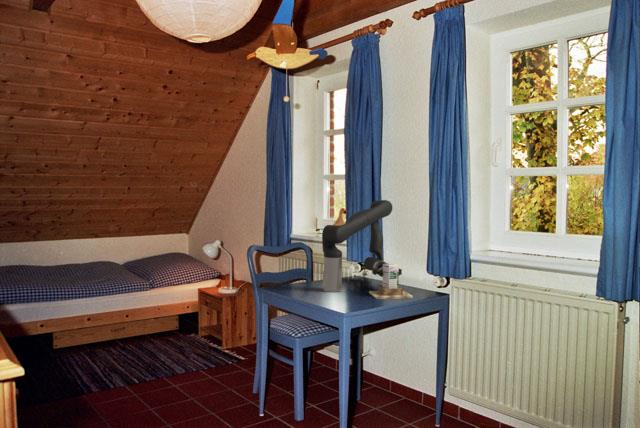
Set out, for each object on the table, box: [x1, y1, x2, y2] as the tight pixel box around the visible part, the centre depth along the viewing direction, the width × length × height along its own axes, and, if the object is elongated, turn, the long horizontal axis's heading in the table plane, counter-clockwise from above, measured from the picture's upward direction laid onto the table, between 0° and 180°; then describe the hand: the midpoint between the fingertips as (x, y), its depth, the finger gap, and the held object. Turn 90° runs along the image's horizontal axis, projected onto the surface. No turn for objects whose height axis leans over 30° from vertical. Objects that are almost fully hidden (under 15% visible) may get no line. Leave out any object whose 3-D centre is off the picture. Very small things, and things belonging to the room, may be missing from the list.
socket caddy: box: [368, 284, 414, 300], centre depth 265 cm, size 18×14×4 cm
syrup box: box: [382, 262, 400, 289], centre depth 265 cm, size 6×6×14 cm
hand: (390, 273), depth 264 cm, fingers open, 8 cm apart
